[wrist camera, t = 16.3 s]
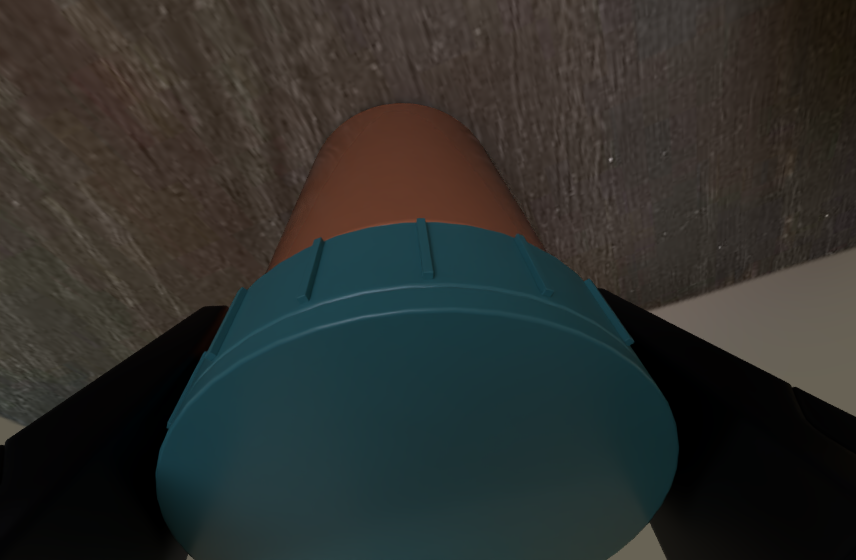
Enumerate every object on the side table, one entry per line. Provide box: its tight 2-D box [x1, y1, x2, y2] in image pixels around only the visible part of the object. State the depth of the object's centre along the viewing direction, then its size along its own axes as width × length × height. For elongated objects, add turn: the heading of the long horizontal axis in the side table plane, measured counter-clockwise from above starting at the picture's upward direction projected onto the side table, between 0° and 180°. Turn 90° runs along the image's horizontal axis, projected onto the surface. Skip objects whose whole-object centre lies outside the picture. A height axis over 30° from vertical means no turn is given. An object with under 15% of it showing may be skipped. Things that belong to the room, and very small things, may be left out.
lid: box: [156, 218, 679, 560], centre depth 7 cm, size 7×7×2 cm
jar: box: [265, 103, 547, 274], centre depth 11 cm, size 6×6×10 cm
